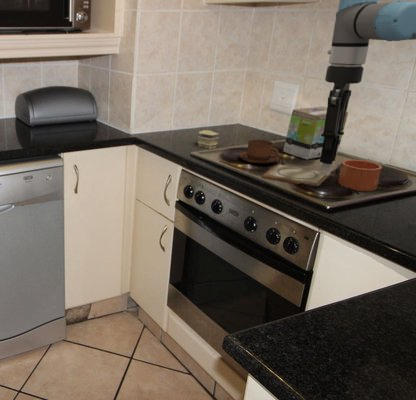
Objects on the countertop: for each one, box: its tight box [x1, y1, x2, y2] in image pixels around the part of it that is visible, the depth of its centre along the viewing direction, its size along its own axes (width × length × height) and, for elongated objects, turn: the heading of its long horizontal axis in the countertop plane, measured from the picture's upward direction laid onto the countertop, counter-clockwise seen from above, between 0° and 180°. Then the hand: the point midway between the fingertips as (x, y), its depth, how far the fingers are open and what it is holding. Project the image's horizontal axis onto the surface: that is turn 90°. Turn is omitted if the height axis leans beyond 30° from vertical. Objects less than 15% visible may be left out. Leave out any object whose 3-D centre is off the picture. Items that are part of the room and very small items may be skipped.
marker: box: [319, 126, 339, 175], centre depth 120 cm, size 2×2×13 cm
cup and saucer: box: [238, 139, 280, 165], centre depth 152 cm, size 12×12×6 cm
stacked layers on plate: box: [197, 129, 220, 150], centre depth 169 cm, size 10×9×6 cm
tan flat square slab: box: [261, 163, 332, 186], centre depth 138 cm, size 15×14×1 cm
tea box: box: [283, 106, 349, 160], centre depth 158 cm, size 15×10×15 cm, turn 117°
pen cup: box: [337, 159, 383, 192], centre depth 130 cm, size 9×9×6 cm
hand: (327, 161), depth 121 cm, fingers closed on marker, 2 cm apart
